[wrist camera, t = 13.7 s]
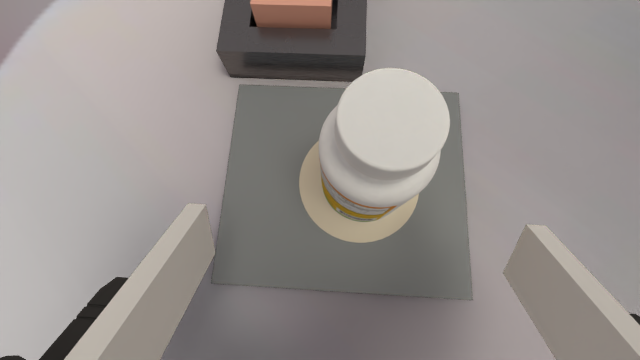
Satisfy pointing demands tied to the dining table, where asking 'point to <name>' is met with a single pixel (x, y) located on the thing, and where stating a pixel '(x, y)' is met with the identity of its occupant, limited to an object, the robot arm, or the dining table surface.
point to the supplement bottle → (382, 143)
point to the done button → (292, 13)
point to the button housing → (294, 45)
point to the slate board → (332, 210)
